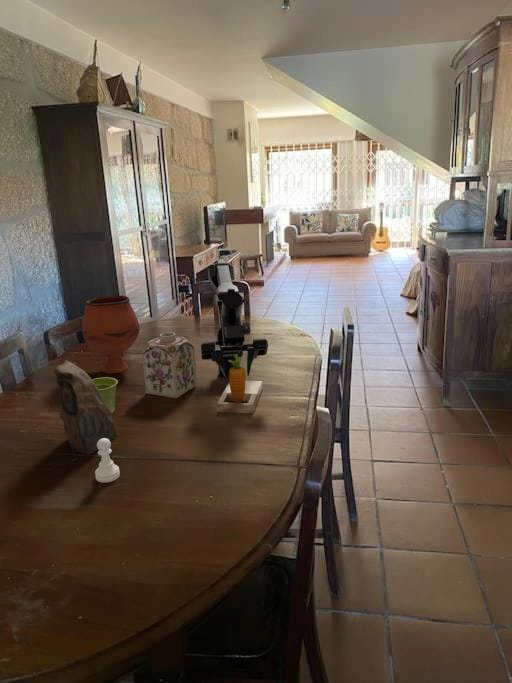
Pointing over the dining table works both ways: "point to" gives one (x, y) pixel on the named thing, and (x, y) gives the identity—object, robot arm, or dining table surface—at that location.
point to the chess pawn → (106, 463)
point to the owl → (83, 409)
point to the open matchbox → (251, 395)
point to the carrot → (237, 380)
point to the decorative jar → (169, 366)
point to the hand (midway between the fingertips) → (237, 376)
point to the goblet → (110, 329)
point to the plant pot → (107, 390)
